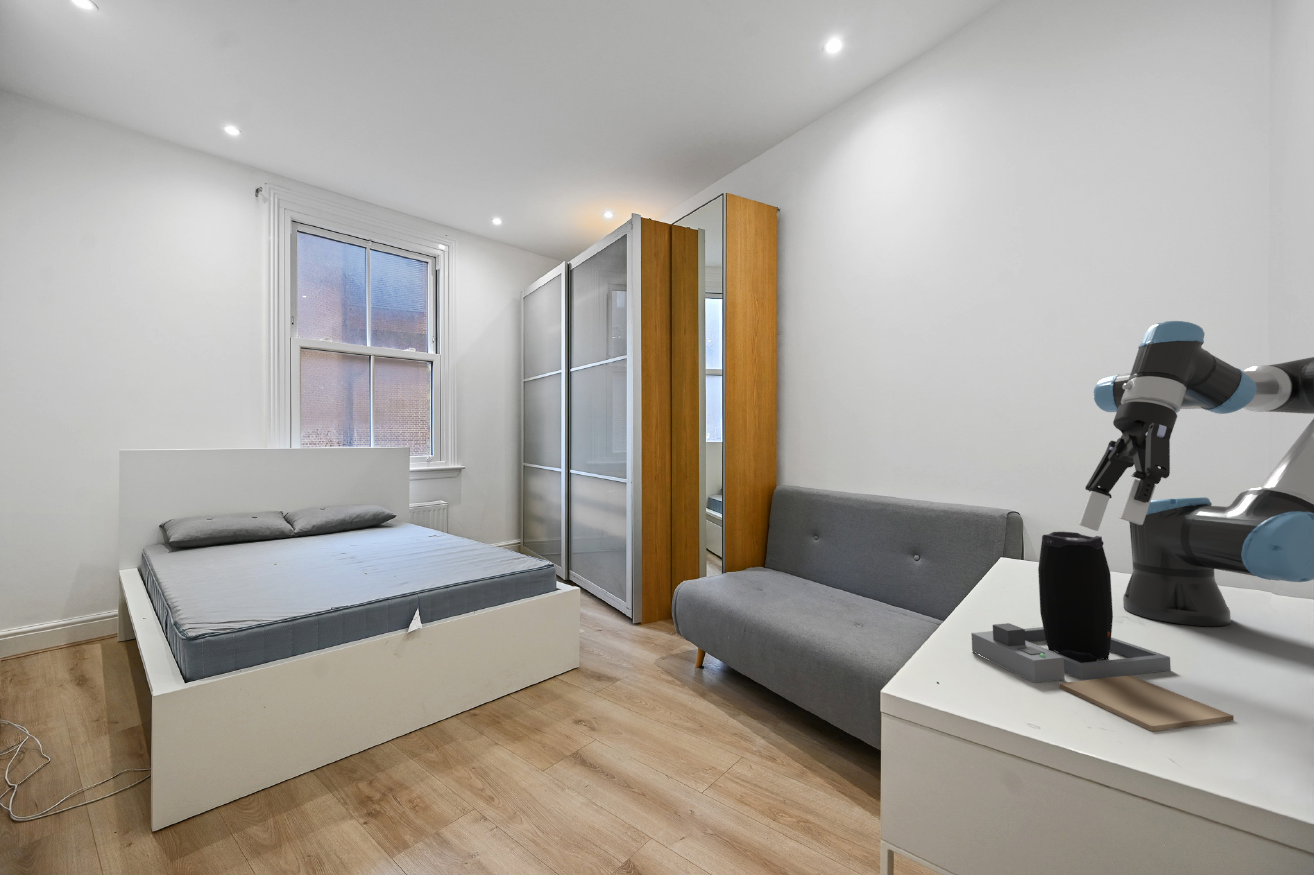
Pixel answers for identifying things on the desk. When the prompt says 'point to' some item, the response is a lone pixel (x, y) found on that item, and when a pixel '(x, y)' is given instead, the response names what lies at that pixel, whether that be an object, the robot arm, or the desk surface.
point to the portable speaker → (1075, 596)
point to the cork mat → (1145, 703)
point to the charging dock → (1134, 664)
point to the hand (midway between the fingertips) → (1107, 525)
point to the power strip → (1018, 653)
